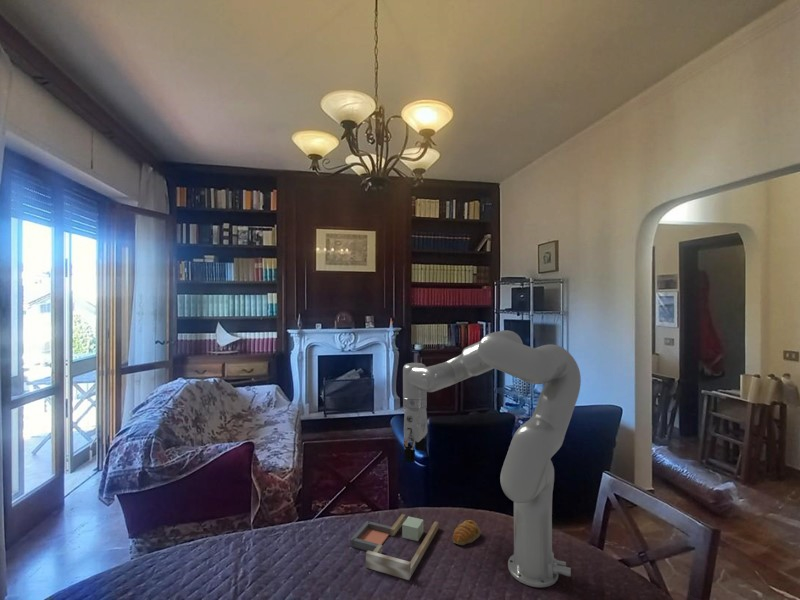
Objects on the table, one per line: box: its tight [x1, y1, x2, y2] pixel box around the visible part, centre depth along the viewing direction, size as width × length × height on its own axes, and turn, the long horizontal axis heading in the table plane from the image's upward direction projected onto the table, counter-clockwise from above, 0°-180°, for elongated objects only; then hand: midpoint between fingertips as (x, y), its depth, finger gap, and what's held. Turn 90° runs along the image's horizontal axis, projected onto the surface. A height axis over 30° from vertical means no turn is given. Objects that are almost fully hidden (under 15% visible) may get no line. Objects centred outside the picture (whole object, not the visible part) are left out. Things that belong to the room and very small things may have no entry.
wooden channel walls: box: [365, 513, 440, 581], centre depth 118 cm, size 12×25×4 cm, turn 157°
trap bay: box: [349, 520, 392, 552], centre depth 121 cm, size 9×10×2 cm
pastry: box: [452, 519, 482, 546], centre depth 121 cm, size 9×7×4 cm
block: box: [401, 515, 425, 542], centre depth 123 cm, size 5×5×4 cm
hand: (415, 455), depth 130 cm, fingers open, 9 cm apart
